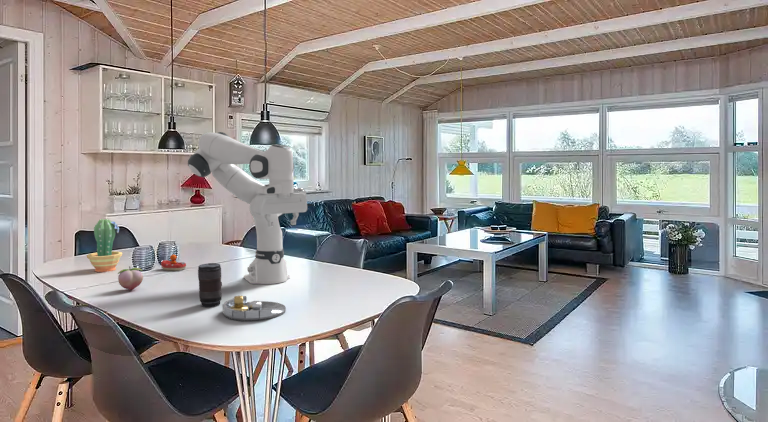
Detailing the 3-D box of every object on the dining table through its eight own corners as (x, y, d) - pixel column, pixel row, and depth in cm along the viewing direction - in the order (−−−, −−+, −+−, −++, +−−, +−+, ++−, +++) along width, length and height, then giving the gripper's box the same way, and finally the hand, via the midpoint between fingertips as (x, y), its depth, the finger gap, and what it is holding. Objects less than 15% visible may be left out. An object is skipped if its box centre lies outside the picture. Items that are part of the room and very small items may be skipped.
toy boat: (166, 267, 257) (166, 252, 256) (188, 268, 255) (188, 253, 254) (158, 270, 249) (157, 255, 249) (180, 271, 248) (180, 256, 247)
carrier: (213, 310, 182) (212, 301, 181) (268, 300, 195) (268, 291, 195) (238, 325, 165) (237, 315, 164) (297, 313, 178) (297, 304, 178)
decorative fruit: (138, 286, 217) (137, 263, 216) (146, 290, 211) (145, 266, 210) (114, 290, 210) (113, 266, 209) (121, 293, 204) (120, 269, 204)
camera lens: (202, 302, 193) (201, 262, 192) (224, 301, 194) (223, 262, 192) (196, 308, 185) (195, 267, 184) (219, 307, 186) (218, 266, 184)
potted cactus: (112, 273, 242) (110, 221, 240) (80, 273, 243) (77, 220, 240) (129, 266, 258) (127, 217, 256) (98, 266, 258) (96, 217, 256)
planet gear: (227, 311, 177) (226, 296, 176) (243, 308, 180) (243, 293, 180) (234, 315, 172) (233, 299, 172) (250, 312, 176) (250, 297, 175)
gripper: (301, 187, 198) (302, 222, 200) (252, 188, 186) (253, 226, 187) (310, 188, 194) (310, 224, 195) (259, 189, 181) (260, 228, 182)
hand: (282, 225), depth 191 cm, fingers open, 8 cm apart
